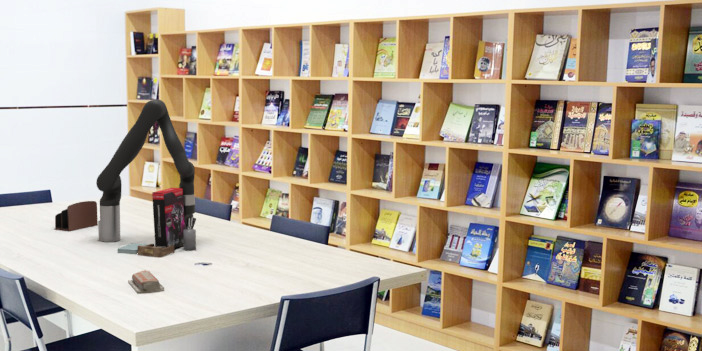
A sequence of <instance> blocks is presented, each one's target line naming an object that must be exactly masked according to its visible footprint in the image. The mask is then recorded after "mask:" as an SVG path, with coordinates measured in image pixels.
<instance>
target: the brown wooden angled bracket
mask: <svg viewBox="0 0 702 351" xmlns="http://www.w3.org/2000/svg"><path fill="white" fill-rule="evenodd" d="M148 244H149V245H146V246H140V245H139V246H138V254H137V255H138V256H144V257H145V256H147V257H155V258H156V257H157V258H162V257H164V256H168V255H171V254H173V253H175V248H174V246H169V247H166V248H163V249H162V248H159V247H155V243H148Z"/></svg>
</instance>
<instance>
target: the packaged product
mask: <svg viewBox="0 0 702 351" xmlns="http://www.w3.org/2000/svg"><path fill="white" fill-rule="evenodd" d="M127 282H128V284H129V285H130V286H131V287H132V289H133V290H134V291H135V292H136V293H137V294H138V293H140V294H146V293H147V292H149V293H155V292H156V291H158V292H165V287H164V286H163V285H162V284H161V283H160V282H159V279H158V278H157V277H155V275H154V274H152V273H151V272H150V271H149V270H146V269H144V270H141V271H138V272H135V273H133V274H132V275H131V279H128V280H127Z"/></svg>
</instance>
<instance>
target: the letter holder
mask: <svg viewBox="0 0 702 351" xmlns="http://www.w3.org/2000/svg"><path fill="white" fill-rule="evenodd" d="M54 217H55V218H54V219H55V220H54V225H55V226H54V229H55V230H56V231H62V232H73V231H78V230H83V229H88V228H92V227H98V221H99V220H98V203H97V201H96V200H94V201H93V200H86V201H85V200H84V201H79V202H75V203H72V204H70V205H68V206H67V207H66V208H65V209H63V210H62V211H61V212H60V213H59V212H58V213H57V214H55V216H54Z"/></svg>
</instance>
